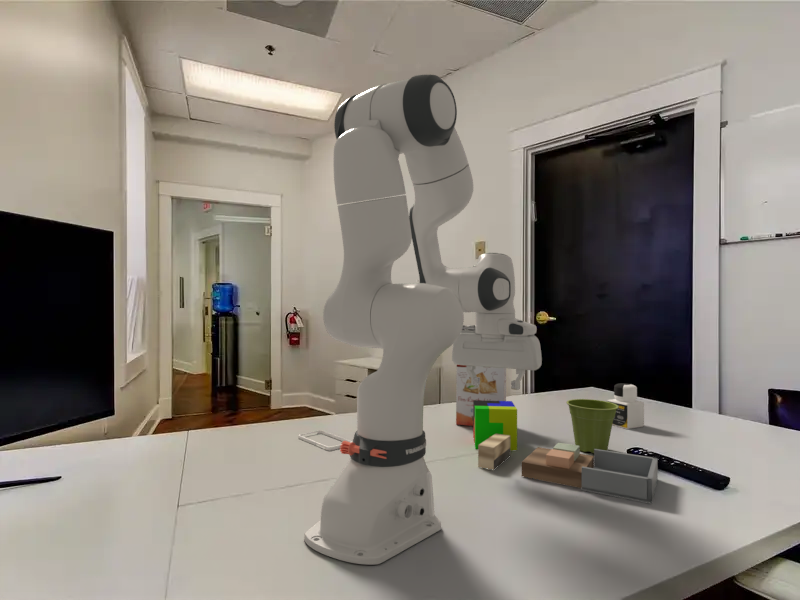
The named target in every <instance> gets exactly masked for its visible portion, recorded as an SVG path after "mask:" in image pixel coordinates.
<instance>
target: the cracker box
mask: <svg viewBox="0 0 800 600" xmlns="http://www.w3.org/2000/svg"><path fill="white" fill-rule="evenodd" d="M474 372H475V374H476V376H477V377H480V385H478V386H473V385H471V377H470V376H469V374H468V372H467V365H456V375H455V376H456V378H455V379H456V383H455V384H456V386H455V387H456V389H455V390H456V397H455V398H456V399H455V401H456V403H455V425H457V426H458V425H459V426H471V427H473V400H479V401H507V368H495V367H482V366H476V369H475V370H474Z"/></svg>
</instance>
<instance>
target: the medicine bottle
mask: <svg viewBox="0 0 800 600" xmlns="http://www.w3.org/2000/svg"><path fill="white" fill-rule="evenodd" d="M613 387H614V388H613V397H614V398H613V399H607V402H611V403H614V404H616V405H618V406H619V408H618V409H616V413H615V417H614V418H613V423H612V426H615V427H619V428H622V429H625V430H631V429H636V428H643V427H645V403H644V401H639V400H637V399H638V387H637V386H636V385H634V384H632V383H624V382H623V383H621V382H620V383H616V384H614V386H613Z"/></svg>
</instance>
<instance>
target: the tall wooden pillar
mask: <svg viewBox="0 0 800 600" xmlns="http://www.w3.org/2000/svg"><path fill="white" fill-rule="evenodd" d="M477 454H478V457H477V460H478V461H477V462H478V463H477V465H478V466H477V467H482V468H481V469H483V468H488V469H487V470H489V469H493V470H492V471H495V470H496V469H497V468H498V467H499V465H500V464H501V463H502V462H503V461H504V462H506V461H507V460H508V459H509V458H510V457H511V450H510V435H503V434H497V433H496V434H494V435H493V436H491V437H490V438H488V439H487V440H485V441H484V442H482V443H481V444H479V445H478V449H477ZM509 456H510V457H509ZM508 457H509V458H508ZM507 458H508V459H507ZM506 459H507V460H506ZM505 460H506V461H505ZM504 462H503V463H504ZM503 463H502V464H503ZM502 464H501V465H502ZM501 465H500V466H501ZM497 466H498V467H497ZM496 467H497V468H496ZM495 468H496V469H495ZM494 469H495V470H494Z"/></svg>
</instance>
